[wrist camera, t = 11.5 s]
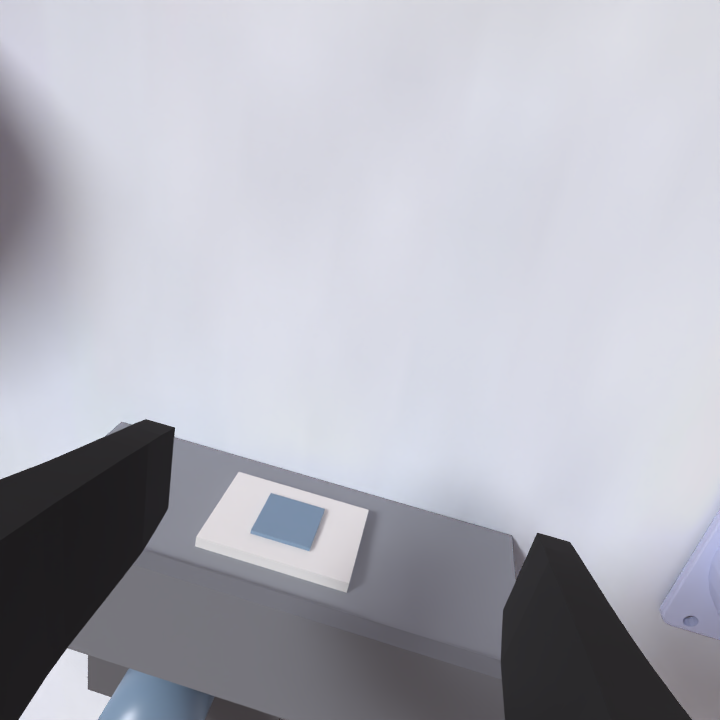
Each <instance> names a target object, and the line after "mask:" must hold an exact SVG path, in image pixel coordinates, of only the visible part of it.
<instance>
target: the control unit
mask: <svg viewBox="0 0 720 720" xmlns="http://www.w3.org/2000/svg"><path fill="white" fill-rule="evenodd" d="M128 426H130V424H127V423H123V422H121V423H120V424H119V425H117V426H116V427H115V428H114V429H113V430H112V431H111V432H110V433H108V434H107V435H110V434H112V433H114V432H117V431H119V430H121V429H123V428H126V427H128ZM107 435H106V436H107ZM515 582H516V578H515V566H514V554H513V543H512V536H511V535H508V534H504V533H501V532H497V531H494V530H491V529H487V528H484V527H480V526H477V525H473V524H470V523H467V522H463V521H460V520H456V519H453V518H449V517H446V516H443V515H439V514H436V513H432V512H429V511H425V510H422V509H419V508H415V507H412V506H408V505H405V504H401V503H398V502H394V501H391V500H388V499H384V498H381V497H377V496H374V495H370V494H367V493H364V492H360V491H357V490H353V489H350V488H346V487H343V486H340V485H336V484H333V483H329V482H326V481H322V480H319V479H316V478H312V477H309V476H305V475H302V474H298V473H295V472H291V471H288V470H285V469H281V468H278V467H274V466H271V465H267V464H264V463H261V462H257V461H254V460H250V459H247V458H243V457H240V456H237V455H233V454H230V453H226V452H223V451H219V450H216V449H213V448H209V447H206V446H202V445H199V444H195V443H192V442H188V441H185V440H182V439H178V438H175V437H174V445H173V457H172V469H171V481H170V493H169V506H168V510H167V512H166V513H165V515H164V517H163V519H162V520H161V522H160V524H159V525H158V527H157V529H156V531H155V532H154V534H153V536H152V537H151V539H150V540H149V542H148V544H147V545H146V547H145V549H144V550H143V552H142V553H141V555H140V556H139V557H138V558H137V560H136V561H135V562H134V564H133V565H132V566H131V568H130V569H129V570H128V571H127V573H126V574H125V575H124V577H123V578H122V579H121V580H120V582H119V583H118V584H117V586H116V587H115V588H114V589H113V591H112V592H111V593H110V594H109V596H108V597H107V598H106V600H105V601H104V602H103V603H102V605H101V606H100V607H99V608H98V610H97V611H96V612H95V613H94V615H93V616H92V617H91V619H90V620H89V621H88V622H87V624H86V625H85V626H84V627H83V629H82V630H81V631H80V632H79V634H78V635H77V636H76V638H75V639H74V640H73V641H72V643H71V644H70V645H69V646H68V648H69V649H72V650H75V651H78V652H81V653H84V654H87V655H90V656H93V657H96V658H99V659H102V660H105V661H108V662H112V663H115V664H118V665H121V666H124V667H127V668H130V669H133V670H136V671H139V672H142V673H145V674H148V675H151V676H154V677H157V678H160V679H163V680H166V681H170V682H173V683H176V684H179V685H182V686H185V687H188V688H191V689H194V690H197V691H200V692H203V693H206V694H209V695H212V696H215V697H218V698H221V699H225V700H228V701H231V702H234V703H237V704H240V705H243V706H246V707H249V708H252V709H255V710H258V711H261V712H264V713H267V714H270V715H273V716H276V717H279V718H283V719H286V720H505V714H504V701H503V688H502V675H501V638H502V619H503V609H504V606H505V604H506V602H507V600H508V597H509V595H510V593H511V591H512V589H513V586H514V584H515Z"/></svg>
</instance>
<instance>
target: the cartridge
mask: <svg viewBox="0 0 720 720" xmlns="http://www.w3.org/2000/svg"><path fill="white" fill-rule="evenodd" d="M214 697H215V696H212V695H209V694H206V693H203V692H200V691H197V690H194V689H191V688H188V687H185V686H182V685H179V684H176V683H173V682H170V681H166V680H163V679H160V678H157V677H154V676H151V675H148V674H145V673H142V672H139V671H136V670H133V669H130V668H129V669H128V671H127V672H126V674H125V676H124V677H123V679H122V681H121V682H120V684H119V685H118V687H117V689H116V690H115V692H114V694H113V695H112V697H111V699H110V700H109V702H108V704H107V705H106V707H105V709H104V710H103V712H102V714H101V715H100V717H99V719H98V720H205V718H206V716H207V713H208V711H209V708H210V706H211V704H212V701H213V699H214Z"/></svg>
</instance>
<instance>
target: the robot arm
mask: <svg viewBox="0 0 720 720" xmlns="http://www.w3.org/2000/svg"><path fill="white" fill-rule="evenodd" d="M174 432H175V428H174V427H171V426H167V425H164V424H161V423H157V422H154V421H150V420H147V419H146V420H143V421H140V422H138V423H135V424H133V425H130V426H128V427H126V428H123V429H121V430H119V431H117V432H114V433H112V434H110V435H107V436H105V437H103V438H101V439H98V440H96V441H94V442H92V443H89V444H87V445H85V446H82V447H80V448H78V449H75V450H73V451H71V452H68V453H66V454H64V455H61V456H59V457H57V458H54V459H52V460H50V461H47V462H45V463H42V464H40V465H37V466H34V467H32V468H29V469H27V470H24V471H21V472H19V473H16V474H13V475H11V476H8V477H6V478H3V479H0V720H19V718H20V716H21V715H22V713H23V712H24V710H25V709H26V707H27V706H28V704H29V703H30V701H31V700H32V698H33V696H34V695H35V693H36V692H37V690H38V689H39V687H40V686H41V684H42V683H43V681H44V680H45V678H46V676H47V675H48V674H49V672H50V671H51V669H52V668H53V667H54V665H55V664H56V663H57V661H58V660H59V658H60V657H61V656H62V654H63V653H64V652H65V650H66V649H67V648H68V646H69V645H70V644H71V643H72V641H73V640H74V639H75V638H76V636H77V635H78V634H79V632H80V631H81V630H82V629H83V627H84V626H85V625H86V624H87V622H88V621H89V620H90V619H91V617H92V616H93V615H94V613H95V612H96V611H97V610H98V608H99V607H100V606H101V605H102V603H103V602H104V601H105V600H106V598H107V597H108V596H109V594H110V593H111V592H112V591H113V589H114V588H115V587H116V586H117V584H118V583H119V582H120V580H121V579H122V578H123V577H124V575H125V574H126V573H127V571H128V570H129V569H130V568H131V566H132V565H133V564H134V562H135V561H136V560H137V558H138V557H139V556H140V555H141V553H142V552H143V550H144V549H145V547H146V545H147V544H148V542H149V540H150V539H151V537H152V536H153V534H154V532H155V531H156V529H157V527H158V525H159V524H160V522H161V520H162V519H163V517H164V515H165V513H166V512H167V510H168V506H169V493H170V481H171V469H172V457H173V445H174ZM660 613H661V616H662V619H663V620H664V622H665V623H667V624H669V625H671V626H674V627H678V628H681V629H685V630H688V631H691V632H695V633H698V634H701V635H705V636H708V637H711V638H715V639H718V640H720V510H719V511H718V513H717V515H716V516H715V518H714V519H713V521H712V523H711V524H710V526H709V528H708V529H707V531H706V533H705V534H704V536H703V537H702V539H701V541H700V542H699V544H698V546H697V547H696V549H695V551H694V552H693V554H692V555H691V557H690V559H689V560H688V562H687V564H686V565H685V567H684V569H683V570H682V572H681V573H680V575H679V577H678V578H677V580H676V582H675V583H674V585H673V587H672V588H671V590H670V591H669V593H668V595H667V596H666V598H665V600H664V601H663V603H662V605H661V607H660ZM687 616H692V617H690V618H685V617H687ZM501 675H502V688H503V701H504V714H505V720H692V719H691V718H690V717H689V715H688V714H687V713H686V711H685V710H684V709H683V708H682V706H681V705H680V704H679V702H678V701H677V700H676V698H675V697H674V696H673V694H672V693H671V692H670V690H669V689H668V688H667V686H666V685H665V684H664V682H663V681H662V680H661V678H660V677H659V676H658V674H657V673H656V671H655V670H654V669H653V667H652V666H651V665H650V663H649V662H648V660H647V659H646V658H645V656H644V655H643V653H642V652H641V650H640V649H639V648H638V646H637V645H636V643H635V642H634V640H633V639H632V637H631V636H630V634H629V633H628V631H627V630H626V628H625V627H624V625H623V624H622V622H621V621H620V619H619V618H618V616H617V615H616V613H615V612H614V610H613V609H612V607H611V606H610V604H609V603H608V601H607V599H606V598H605V596H604V595H603V593H602V591H601V590H600V588H599V587H598V585H597V584H596V582H595V580H594V579H593V577H592V576H591V574H590V572H589V571H588V569H587V568H586V566H585V565H584V563H583V561H582V560H581V558H580V557H579V555H578V554H577V552H576V550H575V549H574V547H573V546H572V544H571V543H570V542H568V541H564V540H561V539H557V538H554V537H550V536H547V535H544V534H540V533H537V535H536V537H535V539H534V541H533V544H532V546H531V548H530V550H529V553H528V555H527V557H526V559H525V562H524V564H523V566H522V568H521V571H520V573H519V575H518V577H517V580H516V582H515V584H514V586H513V589H512V591H511V593H510V595H509V597H508V600H507V602H506V604H505V606H504V609H503V619H502V638H501Z"/></svg>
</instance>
